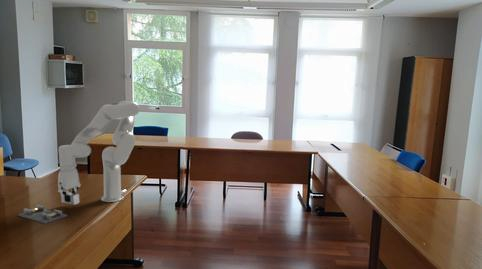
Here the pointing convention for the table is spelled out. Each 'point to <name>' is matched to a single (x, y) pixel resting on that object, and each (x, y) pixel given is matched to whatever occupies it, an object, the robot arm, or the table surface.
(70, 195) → the tall grey pillar block
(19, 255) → the table surface
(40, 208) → the twin roller tray
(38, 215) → the grey flat plate
